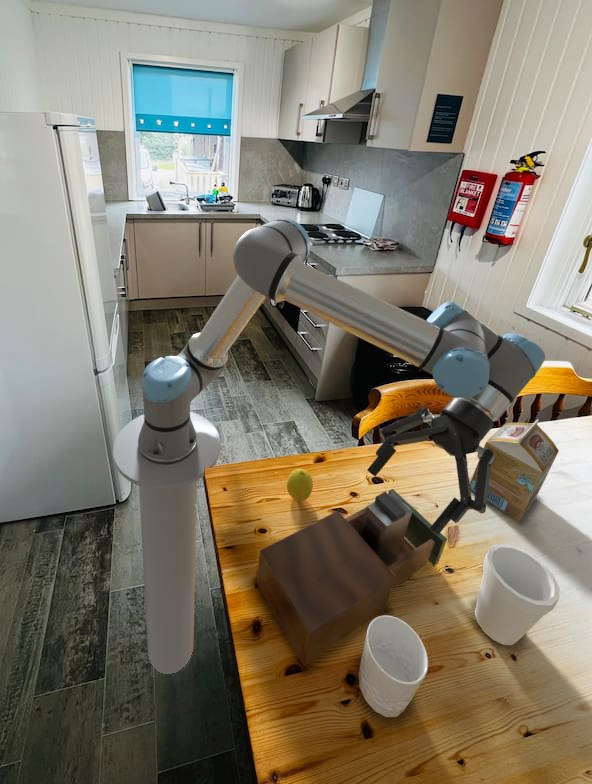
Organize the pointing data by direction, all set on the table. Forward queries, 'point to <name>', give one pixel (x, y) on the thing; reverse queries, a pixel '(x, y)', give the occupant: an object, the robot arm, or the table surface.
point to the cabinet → (323, 584)
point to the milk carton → (517, 466)
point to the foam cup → (513, 593)
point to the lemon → (299, 484)
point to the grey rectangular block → (385, 526)
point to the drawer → (418, 536)
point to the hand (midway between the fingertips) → (399, 500)
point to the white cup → (391, 665)
